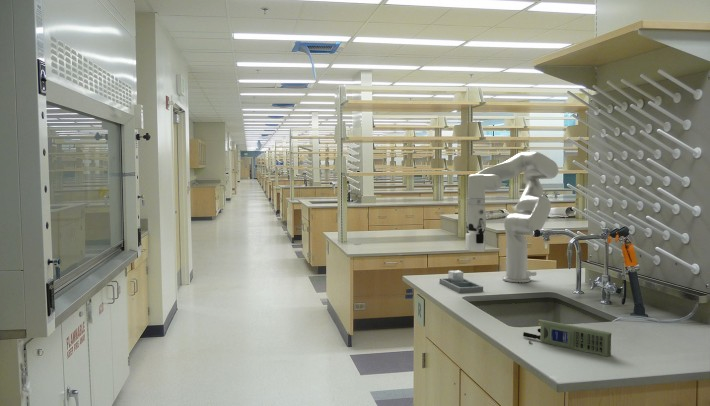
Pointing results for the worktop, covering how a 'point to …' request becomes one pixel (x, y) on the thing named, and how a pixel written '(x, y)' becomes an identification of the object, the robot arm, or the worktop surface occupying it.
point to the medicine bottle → (473, 240)
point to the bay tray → (462, 286)
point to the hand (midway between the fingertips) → (475, 242)
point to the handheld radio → (573, 337)
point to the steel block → (455, 276)
